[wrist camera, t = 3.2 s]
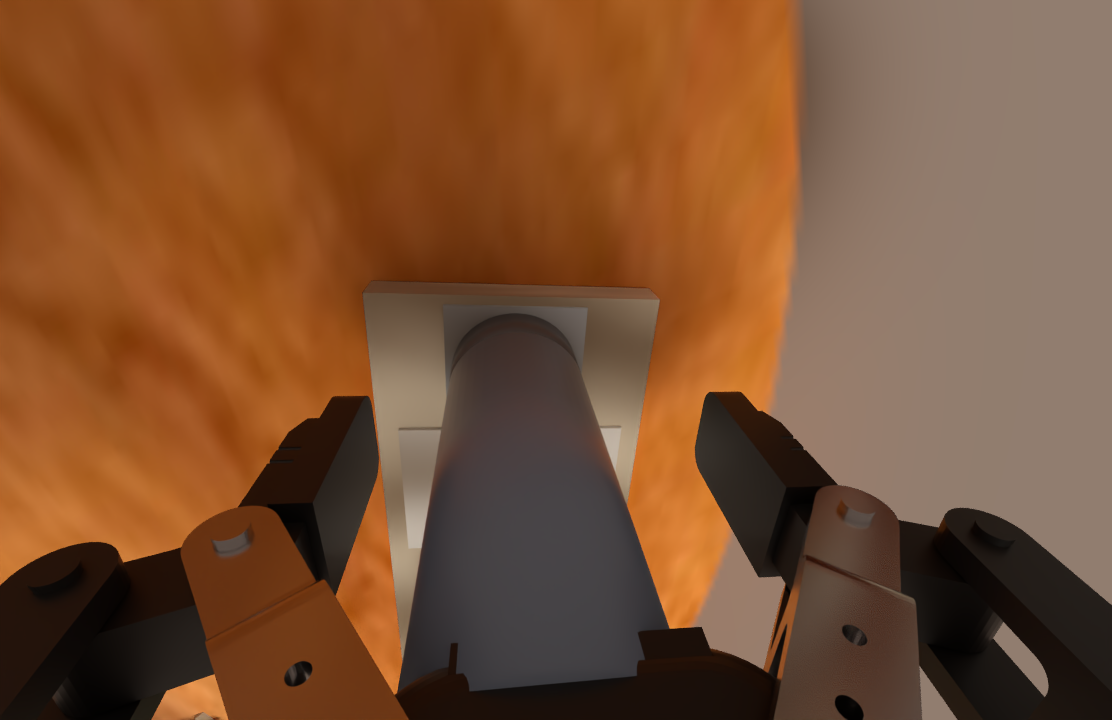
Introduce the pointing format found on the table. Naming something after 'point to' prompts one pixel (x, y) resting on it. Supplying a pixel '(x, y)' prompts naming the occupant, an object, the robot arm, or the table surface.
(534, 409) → the ball
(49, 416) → the table surface
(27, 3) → the table surface
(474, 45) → the table surface
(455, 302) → the grey rectangular tray
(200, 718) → the woven mat
